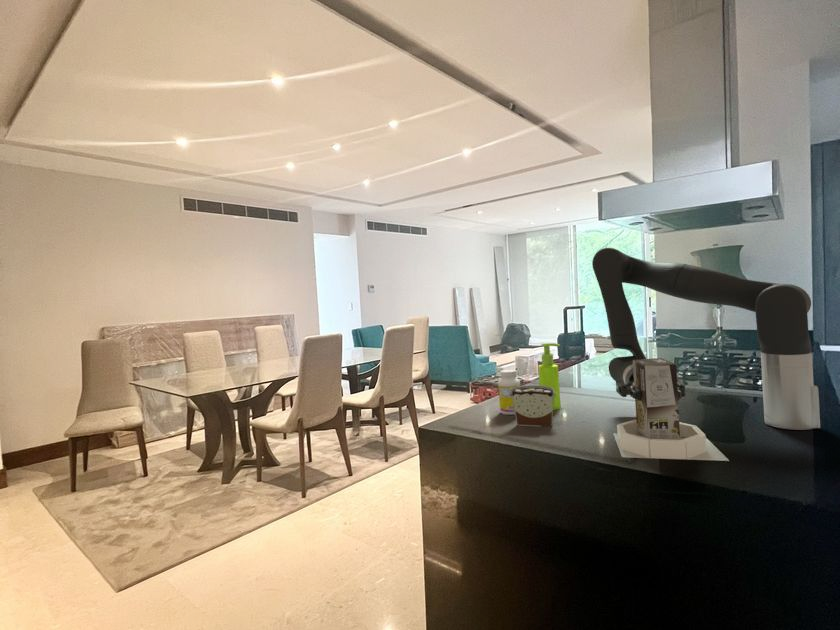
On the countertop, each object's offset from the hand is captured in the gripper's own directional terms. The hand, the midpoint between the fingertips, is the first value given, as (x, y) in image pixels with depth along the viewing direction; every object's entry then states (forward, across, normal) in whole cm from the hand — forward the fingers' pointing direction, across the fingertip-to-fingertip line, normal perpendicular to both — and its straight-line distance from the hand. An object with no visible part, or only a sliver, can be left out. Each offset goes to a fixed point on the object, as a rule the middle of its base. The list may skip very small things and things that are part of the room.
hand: (658, 395), depth 92 cm
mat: (-2, +1, +12) cm, 12 cm away
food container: (-20, -26, +12) cm, 35 cm away
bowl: (-2, 0, +11) cm, 12 cm away
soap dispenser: (-37, -22, +13) cm, 45 cm away
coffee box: (-2, 0, +9) cm, 9 cm away
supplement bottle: (-32, -34, +13) cm, 48 cm away
